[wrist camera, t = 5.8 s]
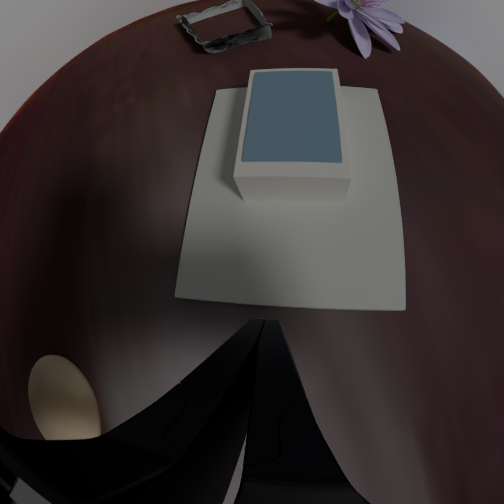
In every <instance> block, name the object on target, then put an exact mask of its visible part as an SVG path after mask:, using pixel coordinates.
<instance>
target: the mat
mask: <svg viewBox="0 0 504 504" xmlns="http://www.w3.org/2000/svg"><path fill="white" fill-rule="evenodd" d="M340 88H341V95H342V101H343V108H344V115H345V123H346V131H347V140H348V149H349V160H350V171H351V181H350V185H349V190H348V194H347V198H346V202H345V203H322V202H287V201H244V200H243V198H242V195H241V193H240V191H239V189H238V186H237V184H236V182H235V180H234V177H233V176H234V169H235V162H236V156H237V150H238V143H239V137H240V131H241V124H242V118H243V112H244V106H245V100H246V95H247V89H248V87H244V88H232V89H222V90H217V91H216V95H215V99H214V102H213V106H212V110H211V114H210V118H209V122H208V125H207V130H206V134H205V138H204V142H203V146H202V150H201V155H200V159H199V163H198V168H197V173H196V177H195V182H194V187H193V191H192V196H191V201H190V206H189V212H188V217H187V222H186V228H185V233H184V239H183V245H182V251H181V257H180V263H179V269H178V276H177V282H176V289H175V296H174V297H177V298H183V299H192V300H202V301H213V302H224V303H236V304H248V305H262V306H277V307H294V308H314V309H339V310H382V311H403V310H405V304H406V294H405V259H404V243H403V230H402V220H401V210H400V202H399V194H398V187H397V180H396V174H395V168H394V162H393V157H392V151H391V146H390V141H389V137H388V132H387V127H386V123H385V119H384V115H383V111H382V107H381V103H380V99H379V96H378V92H377V89H369V88H358V87H344V86H340Z"/></svg>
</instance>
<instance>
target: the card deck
mask: <svg viewBox="0 0 504 504" xmlns="http://www.w3.org/2000/svg"><path fill="white" fill-rule="evenodd" d="M233 177H234V180H235V182H236V184H237V186H238V189H239V191H240V193H241V195H242V198H243V200H244V201H287V202H322V203H345V202H346V198H347V194H348V190H349V185H350V181H351V171H350V160H349V149H348V140H347V131H346V123H345V115H344V108H343V101H342V95H341V88H340V82H339V77H338V71H337V69H320V68H286V69H263V70H251V72H250V78H249V83H248V89H247V95H246V100H245V106H244V112H243V118H242V124H241V131H240V137H239V143H238V150H237V156H236V162H235V169H234V176H233Z"/></svg>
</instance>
